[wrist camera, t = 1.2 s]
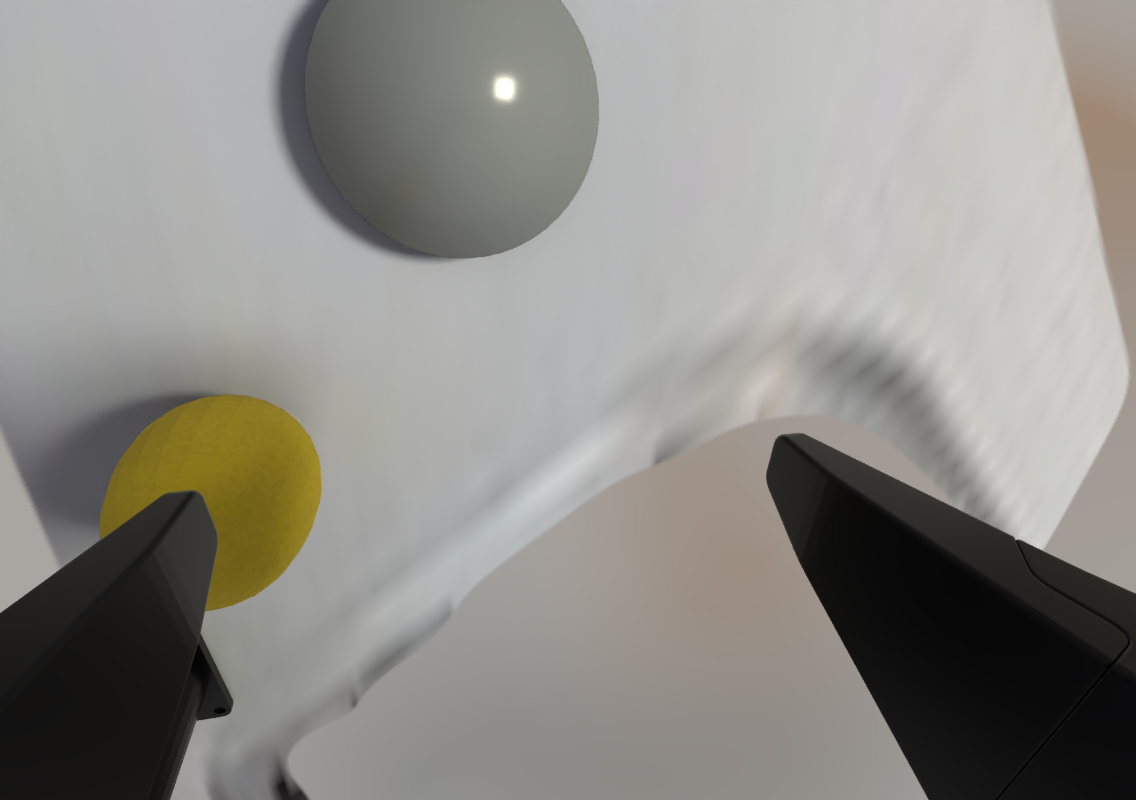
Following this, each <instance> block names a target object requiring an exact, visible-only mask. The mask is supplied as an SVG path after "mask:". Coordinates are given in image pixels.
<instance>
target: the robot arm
mask: <svg viewBox="0 0 1136 800" xmlns="http://www.w3.org/2000/svg"><path fill="white" fill-rule="evenodd" d="M766 480H767V485H768V488H769V491H770V493H771V495H772V498H773V500H774V503H775V505H776V507H777V510H778V512H779V515H780V517H781V520H782V522H783V525H784V527H785V530H786V532H787V534H788V536H789V539H790V542H791V544H792V546H793V549H794V551H795V553H796V556H797V558H798V560H799V562H800V564H801V566H802V568H803V570H804V572H805V574H806V576H807V577H808V580H809V581H810V583H811V585H812V587H813V589H814V591H815V592H816V594H817V596H818V598H819V600H820V602H821V603H822V605H823V607H824V609H825V610H826V612H827V614H828V616H829V618H830V620H831V622H832V624H833V625H834V627H835V629H836V631H837V633H838V635H839V636H840V638H841V640H842V642H843V644H844V646H845V647H846V649H847V651H848V653H849V655H850V657H851V658H852V660H853V662H854V664H855V666H856V667H857V669H858V671H859V673H860V675H861V677H862V678H863V680H864V682H865V684H866V686H867V688H868V689H869V691H870V693H871V695H872V697H873V699H874V700H875V702H876V704H877V706H878V708H879V710H880V711H881V713H882V715H883V717H884V719H885V721H886V723H887V724H888V726H889V728H890V730H891V732H892V734H893V735H894V737H895V739H896V741H897V743H898V744H899V746H900V748H901V750H902V752H903V754H904V756H905V757H906V759H907V761H908V763H909V765H910V766H911V768H912V770H913V772H914V774H915V776H916V777H917V779H918V781H919V783H920V785H921V787H922V788H923V790H924V792H925V794H926V796H927V798H928V799H929V800H1136V593H1133V592H1131V591H1129V590H1126V589H1124V588H1122V587H1120V586H1118V585H1115V584H1113V583H1111V582H1109V581H1106V580H1104V579H1102V578H1099V577H1097V576H1095V575H1093V574H1091V573H1088V572H1086V571H1084V570H1082V569H1079V568H1077V567H1076V566H1073V565H1071V564H1069V563H1067V562H1065V561H1063V560H1061V559H1059V558H1057V557H1054V556H1052V555H1050V554H1048V553H1046V552H1044V551H1042V550H1040V549H1038V548H1036V547H1034V546H1032V545H1030V544H1028V543H1026V542H1024V541H1022V540H1015V538H1014V537H1013V536H1011V535H1009V534H1007V533H1005V532H1003V531H1001V530H999V529H997V528H995V527H993V526H991V525H989V524H987V523H985V522H983V521H981V520H979V519H977V518H975V517H973V516H971V515H968V514H966V513H964V512H962V511H960V510H958V509H956V508H954V507H952V506H950V505H948V504H946V503H944V502H942V501H940V500H938V499H936V498H934V497H932V496H930V495H928V494H926V493H924V492H922V491H920V490H918V489H915V488H913V487H911V486H909V485H907V484H905V483H903V482H901V481H899V480H897V479H895V478H893V477H891V476H889V475H887V474H885V473H883V472H881V471H879V470H876V469H875V468H873V467H871V466H869V465H867V464H865V463H862V462H860V461H858V460H856V459H854V458H852V457H850V456H848V455H846V454H844V453H842V452H840V451H838V450H836V449H834V448H832V447H830V446H828V445H826V444H824V443H822V442H820V441H818V440H816V439H813V438H811V437H810V436H807V435H806V434H803V433H793V434H782V435H780V436H778V437H777V439H776V440H775V442H774V446H773V449H772V453H771V458H770V461H769V465H768V468H767V473H766ZM217 546H218V536H217V531H216V528H215V526H214V523H213V521H212V518H211V516H210V513H209V511H208V508H207V506H206V503H205V501H204V498H203V496H202V495H201V494H200V493H199V492H198V491H195V490H188V491H177V492H169V493H165V494H163V495H162V496H160V497H159V498H157V499H156V500H155V501H153V502H152V503H151V504H149V505H148V506H147V507H145V508H144V509H142V510H141V511H140V512H138V513H137V514H136V515H134V516H133V517H131V518H130V519H129V520H127V521H126V522H125V523H123V524H122V525H120V526H119V527H118V528H116V529H115V530H114V531H112V532H111V533H109V534H108V535H107V536H105V537H104V538H103V539H101V540H100V541H99V542H97V543H96V544H94V545H93V546H92V547H90V548H89V549H88V550H86V551H85V552H83V553H82V554H81V555H79V556H78V557H77V558H75V559H74V560H72V561H71V562H70V563H68V564H67V565H66V566H64V567H63V568H61V569H60V570H59V571H57V572H56V573H55V574H53V575H52V576H51V577H49V578H48V579H46V580H45V581H44V582H42V583H41V584H40V585H38V586H37V587H35V588H34V589H33V590H31V591H30V592H29V593H27V594H26V595H24V596H23V597H22V598H20V599H19V600H18V601H16V602H15V603H13V604H12V605H11V606H9V607H8V608H7V609H5V610H4V611H2V612H1V613H0V800H170V798H171V795H172V792H173V789H174V786H175V783H176V780H177V777H178V774H179V771H180V768H181V765H182V762H183V759H184V756H185V753H186V750H187V747H188V744H189V741H190V738H191V735H192V732H193V729H194V726H195V723H196V721H198V720H204V719H210V718H216V717H222V716H226V715H228V714H230V712H231V710H232V707H233V699H232V697H231V695H230V693H229V691H228V689H227V687H226V685H225V683H224V681H223V679H222V677H221V675H220V673H219V671H218V669H217V666H216V664H215V662H214V660H213V658H212V656H211V654H210V652H209V650H208V648H207V646H206V644H205V642H204V640H203V638H202V636H201V634H200V632H201V628H202V623H203V618H204V613H205V608H206V603H207V597H208V592H209V587H210V582H211V577H212V572H213V567H214V562H215V557H216V551H217Z"/></svg>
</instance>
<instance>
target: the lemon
mask: <svg viewBox="0 0 1136 800" xmlns="http://www.w3.org/2000/svg"><path fill="white" fill-rule="evenodd" d="M188 490H195V491H198V492H199V493H200V494H201V495H202V496H203V498H204V501H205V503H206V506H207V508H208V511H209V513H210V516H211V518H212V521H213V523H214V526H215V528H216V531H217V536H218V546H217V551H216V557H215V562H214V567H213V572H212V577H211V582H210V587H209V592H208V597H207V603H206V608H205V611H210V610H216V609H220V608H224V607H228V606H232V605H234V604H237V603H239V602H241V601H243V600H246V599H248V598H250V597H252V596H255V595H256V594H258V593H259V592H261V591H262V590H263V589H265V588H266V587H267V586H269V585H270V584H271V583H273V582H274V581H275V580H276V579H277V578H278V577H279V576H280V575H281V574H282V573H283V572H284V571H285V570H286V568H287V567H288V566H289V564H290V563H291V562H292V560H293V559H294V558H295V556H296V555H297V553H298V552H299V551H300V549H301V547H302V546H303V544H304V543H305V541H306V539H307V537H308V535H309V533H310V530H311V528H312V525H313V522H314V519H315V516H316V512H317V509H318V506H319V502H320V497H321V471H320V462H319V458H318V455H317V453H316V450H315V448H314V445H313V443H312V441H311V438H310V437H309V435H308V434H307V433H306V432H305V430H304V429H303V428H302V426H301V425H300V424H299V423H298V422H297V421H296V420H295V419H294V418H293V417H291V416H290V415H289V414H288V413H287V412H285V411H284V410H282V409H280V408H278V407H276V406H274V405H272V404H270V403H268V402H266V401H263V400H259V399H256V398H252V397H249V396H239V395H219V396H210V397H203V398H200V399H197V400H194V401H191V402H188V403H185V404H182V405H180V406H177V407H175V408H174V409H172V410H170V411H169V412H167V413H166V414H164V415H163V416H161V417H160V418H158V419H157V420H155V421H154V422H152V423H151V424H150V425H148V426H147V427H146V428H145V429H144V430H143V431H142V432H141V433H140V434H139V435H138V437H137V438H136V439H135V440H134V442H133V443H132V444H131V445H130V447H129V448H128V449H127V450H126V452H125V453H124V454H123V456H122V457H121V458H120V460H119V462H118V463H117V465H116V467H115V469H114V471H113V474H112V476H111V479H110V482H109V485H108V488H107V491H106V495H105V498H104V501H103V505H102V509H101V514H100V522H99V523H100V537H101V539H103V538H104V537H105V536H107V535H108V534H109V533H111V532H112V531H114V530H115V529H116V528H118V527H119V526H120V525H122V524H123V523H125V522H126V521H127V520H129V519H130V518H131V517H133V516H134V515H136V514H137V513H138V512H140V511H141V510H142V509H144V508H145V507H147V506H148V505H149V504H151V503H152V502H153V501H155V500H156V499H157V498H159V497H160V496H162V495H163V494H165V493H169V492H177V491H188Z"/></svg>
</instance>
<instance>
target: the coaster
mask: <svg viewBox="0 0 1136 800" xmlns="http://www.w3.org/2000/svg"><path fill="white" fill-rule="evenodd" d="M305 104H306V112H307V119H308V123H309V127H310V131H311V135H312V139H313V142H314V145H315V147H316V150H317V152H318V155H319V157H320V160H321V162H322V164H323V166H324V168H325V170H326V171H327V173H328V175H329V177H330V179H331V180H332V182H333V183H334V185H335V186H336V188H337V189H338V191H339V192H340V193H341V195H342V196H343V197H344V199H345V200H346V201H347V202H348V203H349V204H350V205H351V207H352V208H353V209H354V210H355V211H356V212H357V213H358V214H359V215H360V216H361V217H363V218H364V219H365V220H366V221H367V222H368V223H369V224H370V225H372V226H373V227H375V228H376V229H377V230H379V231H380V232H381V233H383V234H384V235H386V236H388V237H389V238H391V239H393V240H395V241H397V242H399V243H400V244H402V245H405V246H407V247H410V248H412V249H415V250H417V251H420V252H424V253H428V254H431V255H435V256H442V257H449V258H476V257H485V256H490V255H494V254H498V253H502V252H505V251H507V250H510V249H513V248H515V247H518V246H520V245H521V244H523V243H525V242H527V241H529V240H531V239H532V238H534V237H535V236H537V235H538V234H540V233H541V232H542V231H544V230H545V229H546V228H547V227H549V226H550V225H551V224H552V223H553V222H554V221H555V220H556V219H557V218H558V217H559V216H560V215H561V214H562V212H563V211H564V210H565V209H566V208H567V206H568V205H569V204H570V202H571V201H572V199H573V198H574V196H575V195H576V193H577V192H578V190H579V188H580V186H581V184H582V182H583V180H584V178H585V176H586V174H587V171H588V168H589V166H590V163H591V160H592V157H593V153H594V148H595V144H596V139H597V132H598V122H599V98H598V90H597V83H596V76H595V72H594V68H593V64H592V60H591V57H590V54H589V51H588V49H587V46H586V44H585V41H584V38H583V36H582V34H581V32H580V30H579V29H578V27H577V25H576V23H575V21H574V19H573V17H572V16H571V14H570V13H569V12H568V10H567V9H566V7H565V6H564V4H563V3H562V1H561V0H329V1H328V3H327V4H326V6H325V8H324V9H323V11H322V13H321V15H320V17H319V20H318V22H317V24H316V27H315V29H314V31H313V35H312V38H311V42H310V46H309V50H308V53H307V61H306V69H305Z"/></svg>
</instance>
